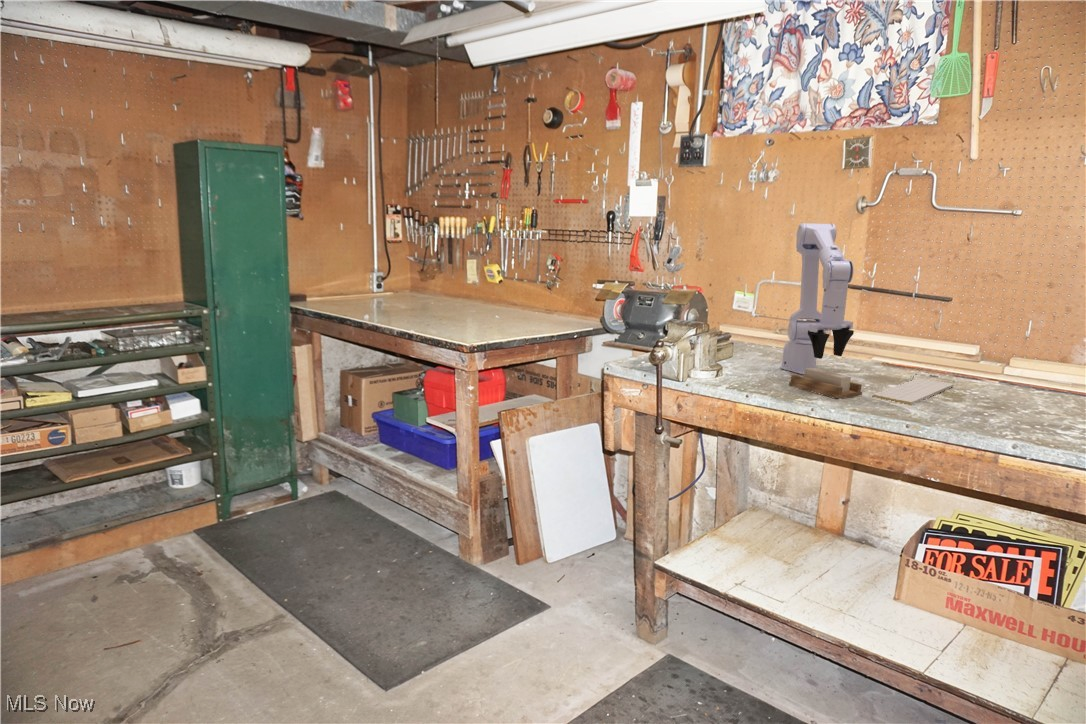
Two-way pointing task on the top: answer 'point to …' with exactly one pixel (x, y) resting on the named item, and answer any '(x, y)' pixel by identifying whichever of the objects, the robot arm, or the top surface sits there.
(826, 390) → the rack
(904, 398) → the baseboard
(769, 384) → the top surface
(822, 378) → the beige rectangular block
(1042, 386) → the top surface
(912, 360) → the top surface
